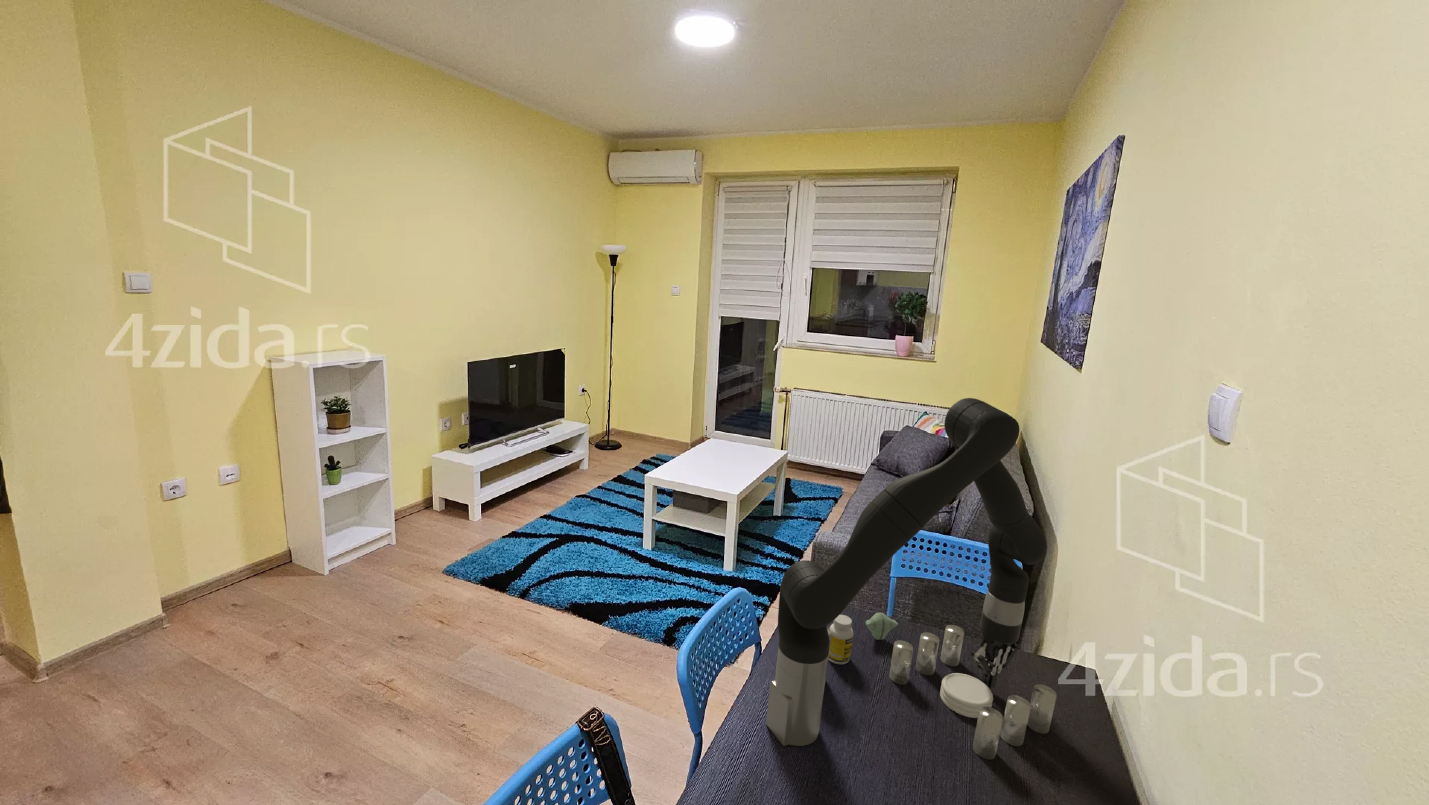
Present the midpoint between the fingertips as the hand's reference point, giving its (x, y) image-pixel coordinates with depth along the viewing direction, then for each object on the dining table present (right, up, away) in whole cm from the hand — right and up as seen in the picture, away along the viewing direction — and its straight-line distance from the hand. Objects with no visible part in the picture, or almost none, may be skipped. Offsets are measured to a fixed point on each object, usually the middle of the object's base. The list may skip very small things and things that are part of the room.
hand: (988, 686), depth 128 cm
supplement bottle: (-31, +2, +8) cm, 32 cm away
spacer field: (-6, -2, -3) cm, 7 cm away
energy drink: (-38, +1, 0) cm, 38 cm away
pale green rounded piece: (-19, +3, +17) cm, 26 cm away
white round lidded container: (-6, -2, -3) cm, 7 cm away
